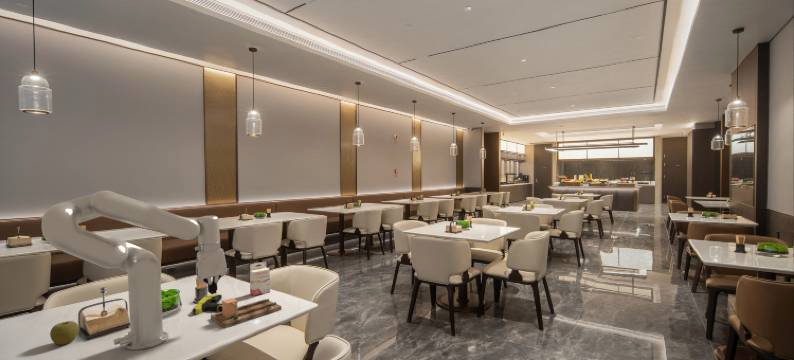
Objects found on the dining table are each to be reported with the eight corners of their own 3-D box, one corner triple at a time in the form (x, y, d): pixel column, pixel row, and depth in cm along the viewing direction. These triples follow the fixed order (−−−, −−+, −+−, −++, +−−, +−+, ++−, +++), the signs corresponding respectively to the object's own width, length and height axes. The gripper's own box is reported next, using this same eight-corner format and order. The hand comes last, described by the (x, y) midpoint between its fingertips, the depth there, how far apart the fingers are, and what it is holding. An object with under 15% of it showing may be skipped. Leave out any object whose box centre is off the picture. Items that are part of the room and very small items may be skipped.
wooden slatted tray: (225, 328, 140) (224, 318, 140) (210, 318, 150) (210, 309, 150) (281, 309, 157) (281, 301, 157) (265, 302, 167) (265, 294, 167)
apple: (79, 335, 137) (78, 317, 136) (79, 343, 131) (78, 323, 130) (51, 342, 132) (50, 323, 131) (50, 350, 126) (49, 330, 125)
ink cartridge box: (253, 296, 176) (252, 266, 175) (250, 293, 180) (248, 264, 179) (270, 292, 181) (269, 262, 181) (267, 289, 185) (266, 261, 185)
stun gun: (238, 292, 175) (204, 294, 173) (227, 306, 156) (189, 309, 154) (238, 298, 175) (205, 300, 173) (227, 313, 156) (189, 316, 154)
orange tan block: (231, 320, 143) (231, 305, 143) (222, 315, 149) (222, 300, 149) (241, 317, 146) (241, 302, 145) (232, 312, 152) (231, 297, 151)
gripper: (192, 252, 135) (195, 301, 135) (233, 244, 146) (235, 289, 146) (185, 250, 140) (188, 296, 141) (225, 242, 151) (228, 286, 151)
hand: (212, 293), depth 143 cm, fingers closed
